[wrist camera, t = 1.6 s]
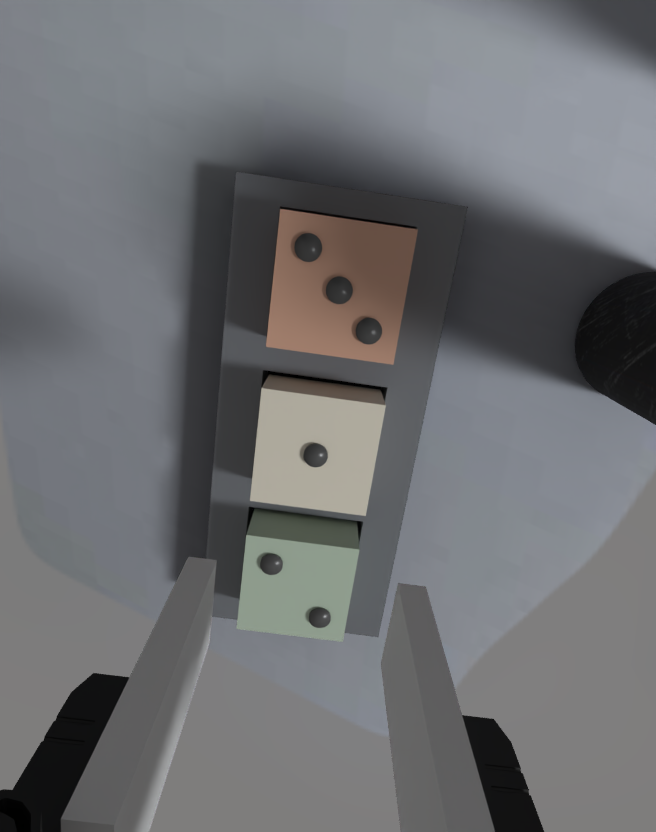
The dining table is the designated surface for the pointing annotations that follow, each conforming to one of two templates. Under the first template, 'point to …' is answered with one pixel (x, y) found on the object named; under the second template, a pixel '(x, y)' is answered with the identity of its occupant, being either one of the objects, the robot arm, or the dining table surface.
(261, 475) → the button one
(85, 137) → the dining table surface
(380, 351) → the button three
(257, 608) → the button two
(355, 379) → the keypad board
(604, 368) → the travel mug
